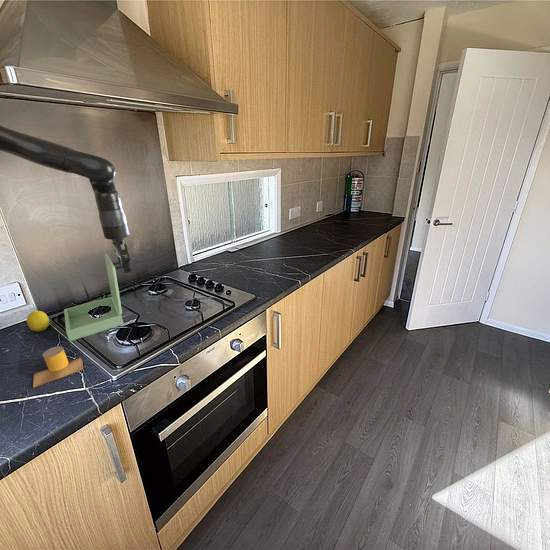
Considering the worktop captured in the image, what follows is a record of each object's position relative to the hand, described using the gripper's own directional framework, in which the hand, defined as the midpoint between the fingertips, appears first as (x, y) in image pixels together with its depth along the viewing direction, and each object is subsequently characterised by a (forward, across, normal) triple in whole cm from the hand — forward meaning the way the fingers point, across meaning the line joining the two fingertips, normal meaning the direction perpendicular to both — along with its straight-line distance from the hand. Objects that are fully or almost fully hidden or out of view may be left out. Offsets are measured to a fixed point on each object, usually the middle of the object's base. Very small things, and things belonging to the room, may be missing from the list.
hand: (125, 268), depth 102 cm
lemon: (+17, -5, -28) cm, 34 cm away
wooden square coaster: (+17, +20, -24) cm, 36 cm away
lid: (+4, 0, -5) cm, 7 cm away
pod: (+17, +20, -24) cm, 36 cm away
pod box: (+17, 0, -14) cm, 22 cm away
